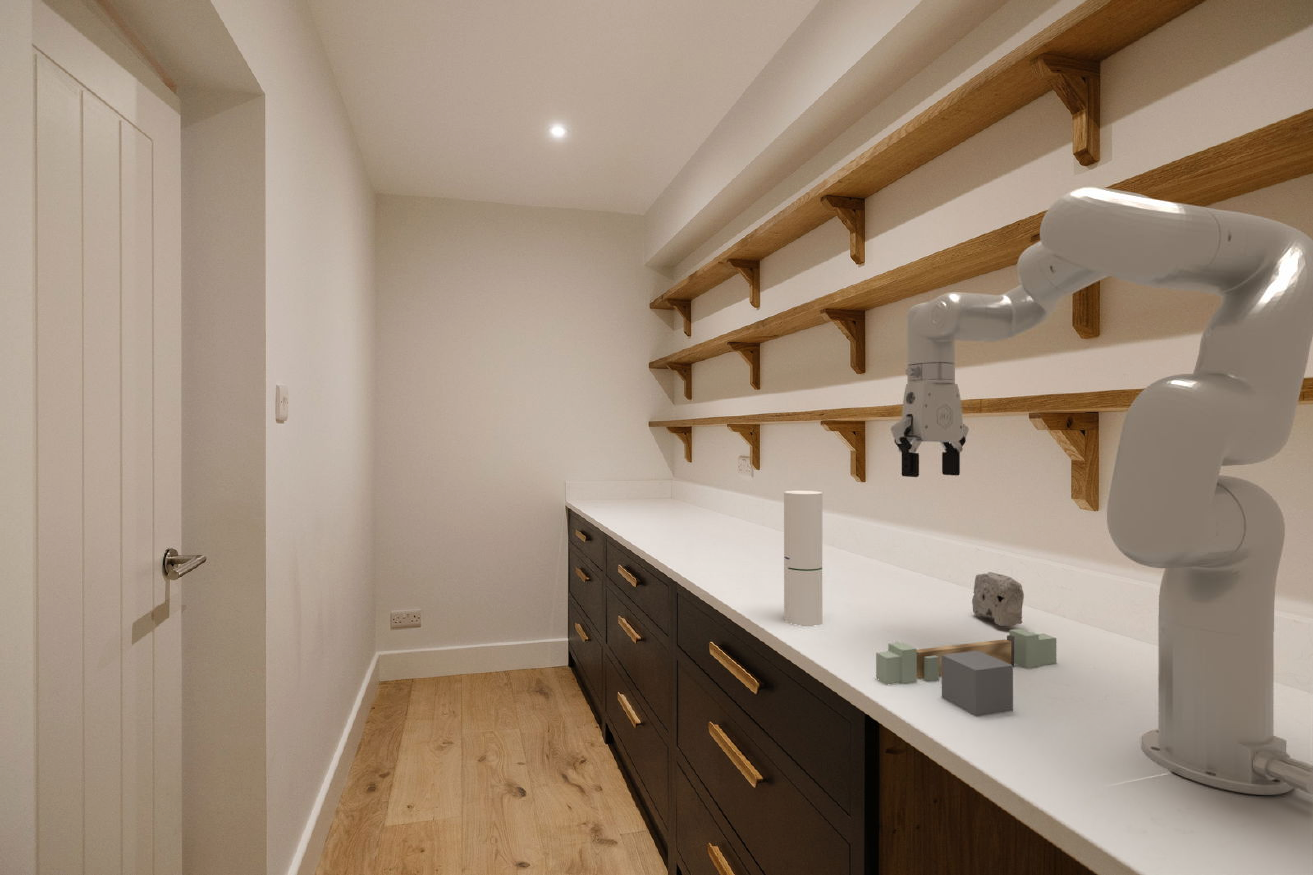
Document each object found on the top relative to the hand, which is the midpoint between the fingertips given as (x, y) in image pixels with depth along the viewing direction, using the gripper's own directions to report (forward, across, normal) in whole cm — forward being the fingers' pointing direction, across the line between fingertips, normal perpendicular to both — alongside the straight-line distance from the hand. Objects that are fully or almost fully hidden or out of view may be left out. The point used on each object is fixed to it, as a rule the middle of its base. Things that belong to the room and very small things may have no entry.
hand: (930, 475), depth 110 cm
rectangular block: (+29, -15, -20) cm, 38 cm away
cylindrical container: (+29, -12, +20) cm, 37 cm away
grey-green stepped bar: (+29, +2, -13) cm, 32 cm away
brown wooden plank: (+29, +2, -13) cm, 32 cm away
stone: (+29, +20, +2) cm, 36 cm away
